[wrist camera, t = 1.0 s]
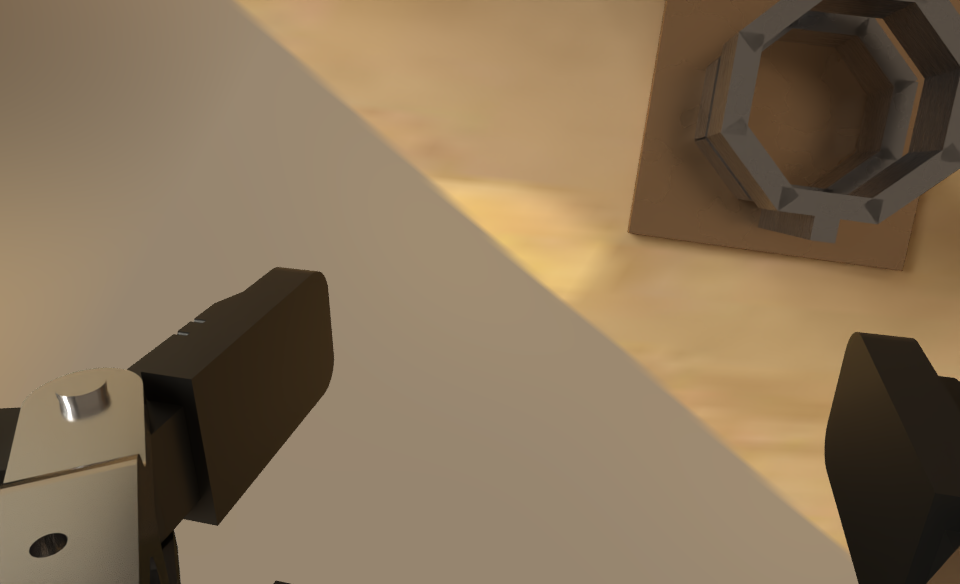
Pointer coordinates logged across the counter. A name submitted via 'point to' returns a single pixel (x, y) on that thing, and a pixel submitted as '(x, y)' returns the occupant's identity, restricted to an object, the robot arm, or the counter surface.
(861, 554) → the robot arm
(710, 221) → the collar stand
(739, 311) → the counter surface
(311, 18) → the counter surface
